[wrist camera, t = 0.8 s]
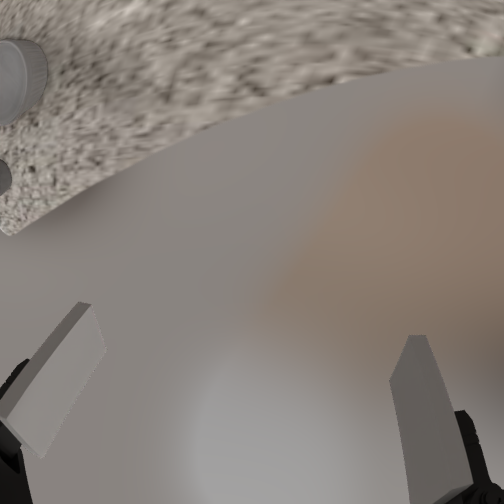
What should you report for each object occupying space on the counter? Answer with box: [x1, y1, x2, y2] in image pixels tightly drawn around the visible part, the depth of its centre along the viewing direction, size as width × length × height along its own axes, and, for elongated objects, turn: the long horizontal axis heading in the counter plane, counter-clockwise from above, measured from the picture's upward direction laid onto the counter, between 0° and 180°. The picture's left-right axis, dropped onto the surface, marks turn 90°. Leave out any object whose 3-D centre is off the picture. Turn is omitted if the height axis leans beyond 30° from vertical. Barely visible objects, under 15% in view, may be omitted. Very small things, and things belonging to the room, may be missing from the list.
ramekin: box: [0, 39, 48, 126], centre depth 25 cm, size 11×11×5 cm
